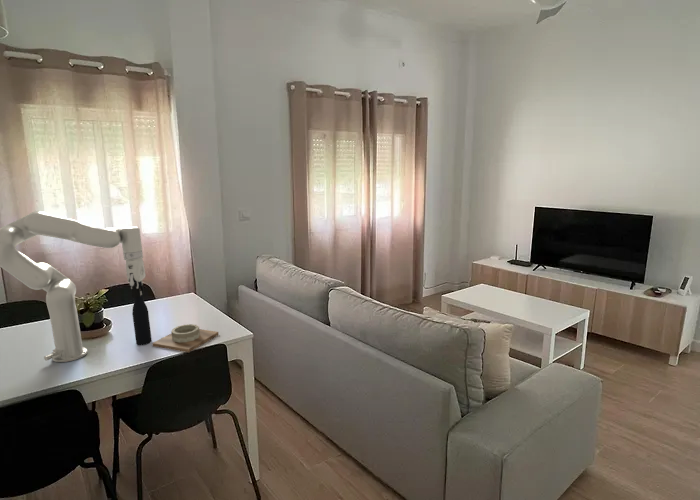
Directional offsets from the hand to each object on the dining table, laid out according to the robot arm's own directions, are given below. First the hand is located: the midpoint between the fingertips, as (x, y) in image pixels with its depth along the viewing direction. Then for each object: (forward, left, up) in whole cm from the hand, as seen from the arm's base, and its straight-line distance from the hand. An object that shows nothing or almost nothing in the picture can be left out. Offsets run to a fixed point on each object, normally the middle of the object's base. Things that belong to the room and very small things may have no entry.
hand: (138, 295), depth 192 cm
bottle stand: (+8, -17, -22) cm, 29 cm away
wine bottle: (0, 0, -22) cm, 22 cm away
